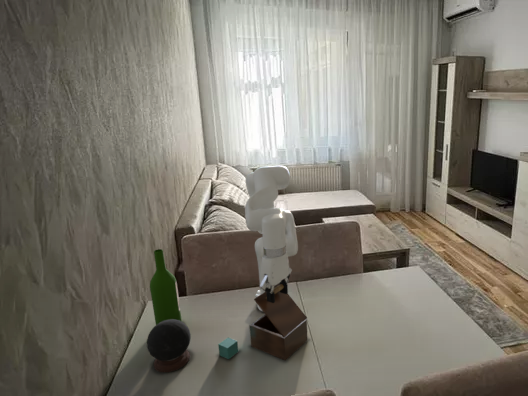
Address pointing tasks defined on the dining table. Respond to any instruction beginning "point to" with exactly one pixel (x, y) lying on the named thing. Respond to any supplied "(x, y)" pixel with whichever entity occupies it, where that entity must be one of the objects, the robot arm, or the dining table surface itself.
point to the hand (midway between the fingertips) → (277, 296)
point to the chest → (276, 338)
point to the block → (228, 348)
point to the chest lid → (281, 311)
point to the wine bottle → (164, 291)
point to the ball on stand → (169, 345)
